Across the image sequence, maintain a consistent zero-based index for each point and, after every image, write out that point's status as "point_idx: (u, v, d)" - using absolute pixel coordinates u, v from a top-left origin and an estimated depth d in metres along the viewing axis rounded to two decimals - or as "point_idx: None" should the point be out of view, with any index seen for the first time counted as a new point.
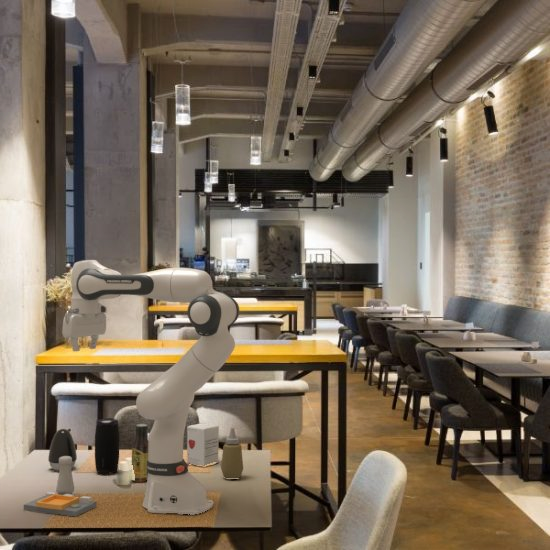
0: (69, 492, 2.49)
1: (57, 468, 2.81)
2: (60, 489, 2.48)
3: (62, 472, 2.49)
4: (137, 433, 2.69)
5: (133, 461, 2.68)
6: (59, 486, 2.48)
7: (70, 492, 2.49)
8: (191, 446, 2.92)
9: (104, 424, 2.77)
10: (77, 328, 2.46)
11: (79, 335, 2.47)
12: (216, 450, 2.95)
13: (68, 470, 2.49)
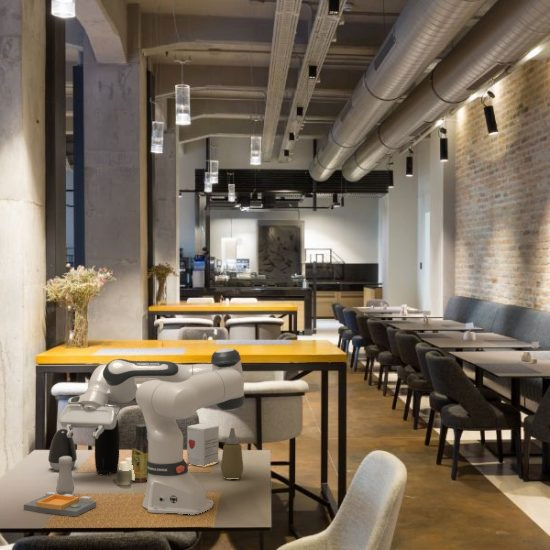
0: (69, 492, 2.49)
1: (57, 468, 2.81)
2: (60, 489, 2.48)
3: (62, 472, 2.49)
4: (137, 433, 2.69)
5: (133, 461, 2.68)
6: (59, 486, 2.48)
7: (70, 492, 2.49)
8: (191, 446, 2.92)
9: None
10: None
11: None
12: (216, 451, 2.95)
13: (68, 470, 2.49)
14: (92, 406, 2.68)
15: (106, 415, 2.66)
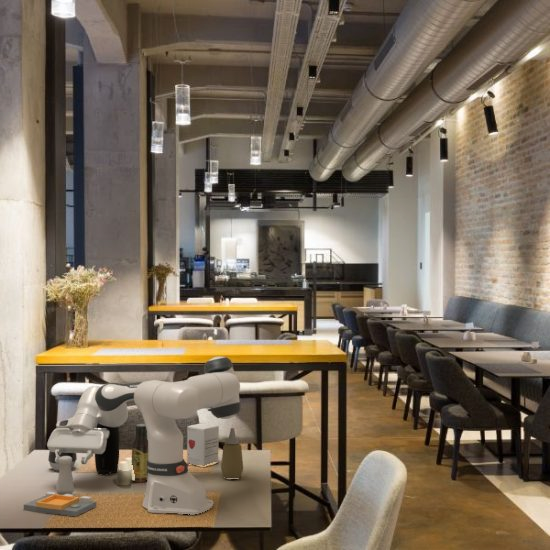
0: (69, 492, 2.49)
1: (57, 468, 2.81)
2: (60, 489, 2.48)
3: (62, 472, 2.49)
4: (137, 433, 2.69)
5: (133, 461, 2.68)
6: (59, 486, 2.48)
7: (70, 492, 2.49)
8: (191, 446, 2.92)
9: None
10: None
11: None
12: (216, 451, 2.95)
13: (68, 470, 2.49)
14: (81, 430, 2.61)
15: (95, 439, 2.58)
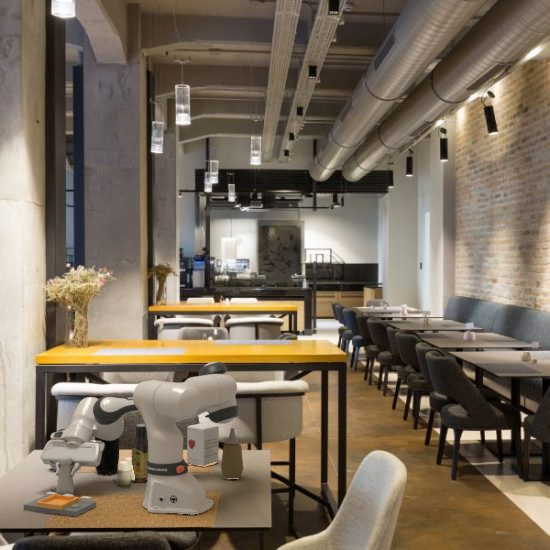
0: (69, 492, 2.49)
1: None
2: (60, 489, 2.48)
3: (62, 472, 2.49)
4: (137, 433, 2.69)
5: (133, 461, 2.68)
6: (59, 486, 2.48)
7: (70, 492, 2.49)
8: (191, 446, 2.92)
9: None
10: None
11: None
12: (216, 450, 2.95)
13: (68, 470, 2.49)
14: (76, 442, 2.55)
15: (90, 452, 2.53)
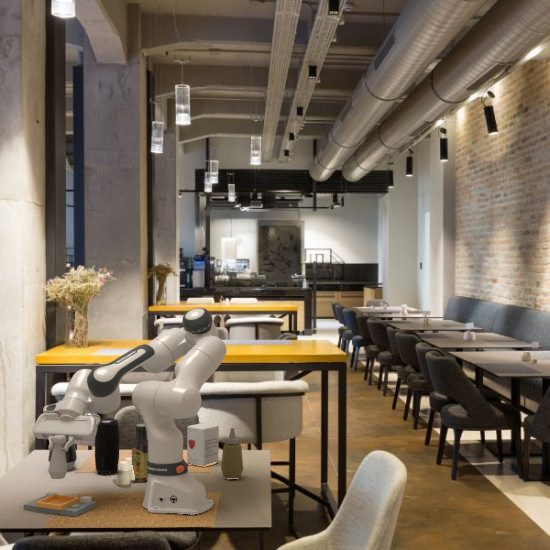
0: (62, 473, 2.35)
1: None
2: (52, 469, 2.34)
3: (55, 451, 2.35)
4: (137, 433, 2.69)
5: (133, 461, 2.68)
6: (51, 466, 2.34)
7: (63, 473, 2.35)
8: (191, 446, 2.92)
9: (104, 424, 2.77)
10: None
11: None
12: (216, 450, 2.95)
13: (61, 449, 2.36)
14: (70, 415, 2.42)
15: (84, 425, 2.39)
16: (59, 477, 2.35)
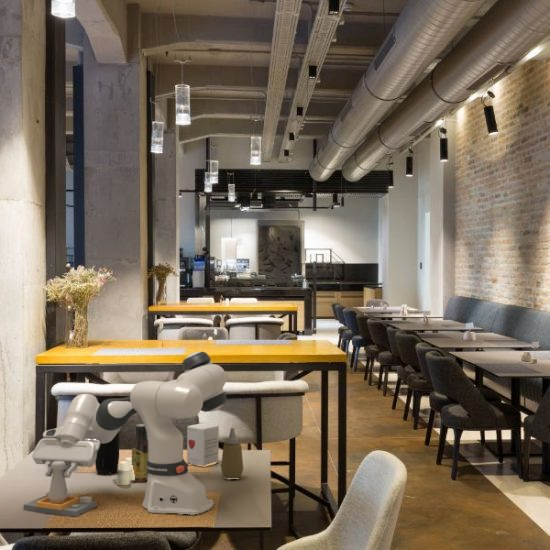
0: (62, 499, 2.34)
1: None
2: (52, 496, 2.34)
3: (54, 477, 2.35)
4: (137, 433, 2.69)
5: (133, 461, 2.68)
6: (51, 493, 2.34)
7: (63, 499, 2.35)
8: (191, 446, 2.92)
9: None
10: None
11: None
12: (216, 450, 2.95)
13: (61, 476, 2.35)
14: (69, 440, 2.41)
15: (84, 451, 2.39)
16: (59, 503, 2.34)
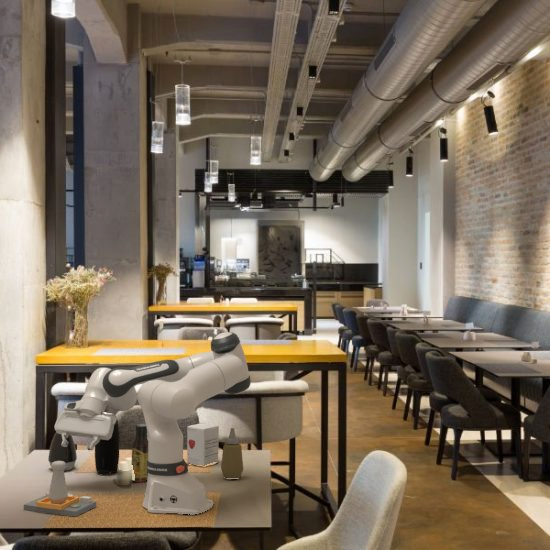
0: (62, 499, 2.34)
1: None
2: (52, 496, 2.34)
3: (54, 477, 2.35)
4: (137, 433, 2.69)
5: (133, 461, 2.68)
6: (51, 493, 2.34)
7: (63, 499, 2.35)
8: (191, 446, 2.92)
9: None
10: None
11: None
12: (216, 450, 2.95)
13: (61, 476, 2.35)
14: (88, 414, 2.58)
15: (102, 425, 2.56)
16: (59, 503, 2.34)
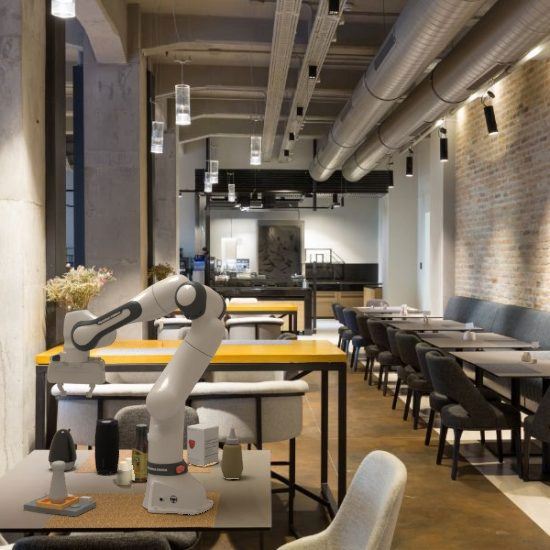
0: (62, 499, 2.34)
1: None
2: (52, 496, 2.34)
3: (54, 477, 2.35)
4: (137, 433, 2.69)
5: (133, 461, 2.68)
6: (51, 493, 2.34)
7: (63, 499, 2.35)
8: (191, 446, 2.92)
9: (104, 424, 2.77)
10: None
11: None
12: (216, 450, 2.95)
13: (61, 476, 2.35)
14: (76, 365, 2.58)
15: (93, 374, 2.58)
16: (59, 503, 2.34)
